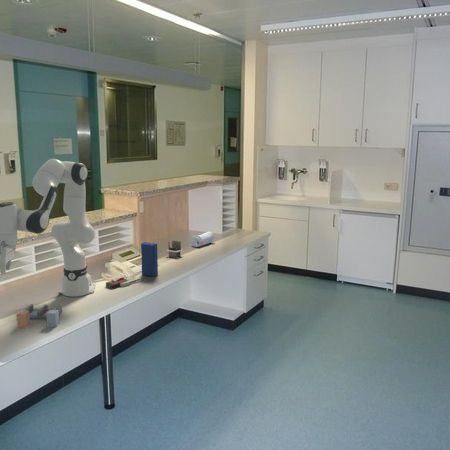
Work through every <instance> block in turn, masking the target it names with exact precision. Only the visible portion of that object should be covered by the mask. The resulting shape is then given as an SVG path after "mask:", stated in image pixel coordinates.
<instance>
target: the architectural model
mask: <svg viewBox="0 0 450 450" xmlns="http://www.w3.org/2000/svg"><path fill="white" fill-rule="evenodd" d="M181 242H182V241H178V240H172V241H171V242H170V241H168V249H166V251H167V252H168V257H169V258H173V259H177V257H181V252H182V251H183V250H184V249H183V248H182V243H181ZM170 243H171V245H170Z"/></svg>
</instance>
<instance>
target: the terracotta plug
mask: <svg viewBox="0 0 450 450" xmlns="http://www.w3.org/2000/svg"><path fill="white" fill-rule="evenodd" d="M15 315H16V323H17V324H16V326H17V328H28V327H29V326H30V324H31V319H30V316H29V311H24V310H18V312H16V314H15Z"/></svg>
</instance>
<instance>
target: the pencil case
mask: <svg viewBox="0 0 450 450" xmlns="http://www.w3.org/2000/svg"><path fill="white" fill-rule="evenodd" d="M214 240H215V235H214V234H213V232H211V231H207V232H205V233H202V234H199V235H193V236H192V237H191V238H190V244H191V246H192V247H194V248H199V247H200V248H201V247H202V246H203V247H204V246H206V245H208V244H211V243H212V242H214Z"/></svg>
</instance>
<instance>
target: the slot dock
mask: <svg viewBox="0 0 450 450" xmlns="http://www.w3.org/2000/svg"><path fill="white" fill-rule="evenodd" d="M48 308H49V307H48V304H44V305H43V306H42V307H41V308H40V309H39V308H37V309H34V304H30V305H29V306H28V307H27V308H25V309H24V310H23V311H29V316H30V320H38V321H39V320H46V321H47V314H46V313H47V312H48V311H49V310H59V316H60V315H61V314H62V312H63V304H59V305H58V306H57V307H56V308H53V309H48Z"/></svg>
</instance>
